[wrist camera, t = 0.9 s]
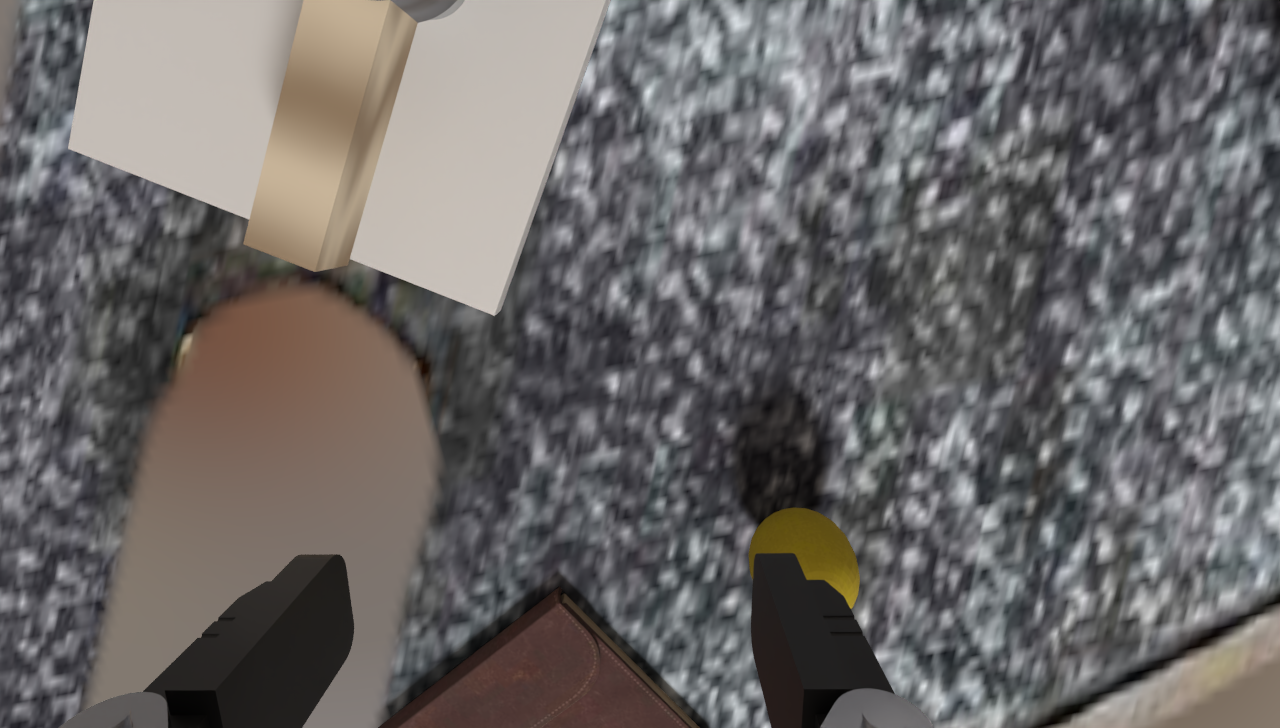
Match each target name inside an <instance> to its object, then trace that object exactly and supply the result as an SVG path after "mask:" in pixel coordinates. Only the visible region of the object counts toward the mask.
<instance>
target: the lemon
mask: <svg viewBox="0 0 1280 728" xmlns="http://www.w3.org/2000/svg"><path fill="white" fill-rule="evenodd" d="M757 553H794V554H795V555H796V557H797V559H798V561H799V563H800V566H801V568H802V570H803V573H804V575H805V577H806V579H807V580H825V581H826V582H828V583H829V584H830V585H831V586H832V587H833V588H835V589H836V590H837V591H838V592H839V593H841V594H842V595H843V596H844V597H845V599H846V601H847V603H848V605H849V607H850V609H852V607H853V605H854V603H855V601H856V598H857V596H858V590H859V581H860V577H859V570H858V565H857V560H856V556H855V553H854V551H853V549H852V547H851V545H850V543H849V541H848V539H847V537H846V536H845V534H844V533H843V532H842V531H841V530H840V529H839V528H838V527H837V526H836V524H835V523H834V522H832V521H831V520H830V519H828V518H827V517H825V516H823V515H822V514H820V513H819V512H816V511H813V510H809V509H806V508H795V507H794V508H787V509H782V510H780V511H777V512H775V513H773V514H771V515H770V516H769V517H767V518H766V519H765V520H764V521H763V522H762V523H761V524H760V525H759V526H758V527H757V529H756V531H755V533H754V535H753V537H752V540H751V545H750V550H749V565H750V573H751V576H752V579H753V568H754V558H755V555H756V554H757Z"/></svg>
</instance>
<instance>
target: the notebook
mask: <svg viewBox="0 0 1280 728" xmlns="http://www.w3.org/2000/svg"><path fill="white" fill-rule="evenodd" d="M562 590H563V589H562V588H561V587H559V588H557V589H556V590H555V591H553V592H552V593H551V594H550V595H548V596H547V597H546V598H544V599H543V600H542V601H541V602H539V603H538V604H537V605H535V606H534V607H533V608H532V609H530V610H529V611H528V612H526V613H525V614H524V615H522V616H521V617H520V618H519V619H517V620H516V621H515V622H513V623H512V624H511V625H510V626H508V627H507V628H506V629H504V630H503V631H502V632H501V633H499V634H498V635H497V636H495V637H494V638H493V639H492V640H490V641H489V642H488V643H486V644H485V645H484V646H483V647H481V648H480V649H479V650H477V651H476V652H475V653H474V654H472V655H471V656H470V657H468V658H467V659H466V660H465V661H463V662H462V663H461V664H459V665H458V666H457V667H456V668H454V669H453V670H452V671H450V672H449V673H448V674H447V675H445V676H444V677H443V678H441V679H440V680H439V681H438V682H436V683H435V684H434V685H432V686H431V687H430V688H429V689H427V690H426V691H425V692H423V693H422V694H421V695H420V696H418V697H417V698H416V699H414V700H413V701H412V702H410V703H409V704H408V705H407V706H405V707H404V708H403V709H401V710H400V711H399V712H398V713H396V714H395V715H394V716H392V717H391V718H390V719H389V720H387V721H386V722H385V723H383V724H382V725H381V726H380V727H378V728H700V727H699V726H698V725H697V724H696V723H695V722H694V721H693V720H692V719H691V718H690V717H689V716H688V715H687V714H686V713H685V712H684V711H683V710H682V709H681V708H680V707H679V706H678V705H677V704H676V703H674V702H673V701H672V700H671V699H670V698H669V697H668V696H667V695H666V694H665V693H664V692H663V691H662V690H661V689H660V688H659V687H658V686H657V685H656V684H655V683H654V682H653V681H652V680H651V679H650V678H649V677H648V676H647V675H646V674H645V673H644V672H643V671H642V670H641V669H640V668H639V667H638V666H637V665H636V664H635V663H634V662H633V661H632V660H631V659H630V658H629V657H628V656H627V655H626V654H625V653H624V652H623V651H622V650H621V649H620V648H619V647H618V646H617V645H616V644H615V643H614V642H613V641H612V640H611V639H610V638H609V637H608V636H607V635H606V634H605V633H604V632H603V631H602V630H601V629H600V628H599V627H598V626H597V625H596V624H595V623H594V622H593V621H592V620H591V619H590V618H589V617H588V616H587V615H586V614H585V613H584V612H583V611H582V610H581V609H580V608H579V607H578V606H577V605H576V604H575V603H574V602H573V601H572V600H571V599H570V598H569V597H568V596H567V595H566V594H565V593H564V594H563V595H561V591H562Z"/></svg>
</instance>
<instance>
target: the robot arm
mask: <svg viewBox="0 0 1280 728" xmlns="http://www.w3.org/2000/svg"><path fill="white" fill-rule="evenodd" d="M353 634H354V621H353V614H352V607H351V600H350V592H349V586H348V578H347V570H346V565H345V561H344V559H343V558H342V556H340V555H298V556H296V557H295V558H294V559H293V560H292V561H291V562H290V563H289V564H288V565H287V566H286V567H285V568H284V569H283V570H282V571H281V572H280V573H279V574H278V575H277V576H276V577H275V578H274V579H273V580H272V581H271V582H265V583H263V584H261V585H260V586H258V587H256V588H255V589H253V590H251V591H250V592H248V593H246V594H245V595H243V596H241V597H240V598H238V599H237V600H236V601H235V602H234V603H233V604H232V605H231V606H230V607H229V608H228V609H227V610H226V611H225V612H224V613H223V614H222V615H221V616H220V617H219V619H218V621H217V622H214V623H212V624H211V626H210V627H208V629H206V630H205V631H204V632H203V634H202V637H201V638H197V639H196V640H195V641H194V642H193V643H192V644H191V645H190V646H189V647H188V648H187V649H186V650H185V651H184V652H183V653H182V654H181V655H180V656H179V657H178V658H177V659H176V660H175V661H174V662H173V663H172V664H171V665H170V666H169V667H168V668H167V669H166V670H165V671H163V672H162V674H160V675H159V676H158V678H156V679H155V680H154V681H153V682H152V683H151V684H150V685H149V686H148V687H147V688H146V689H145V690H144V691H143V692H136V693H129V694H125V695H121V696H117V697H114V698H111V699H108V700H105V701H103V702H101V703H98V704H96V705H94V706H92V707H90V708H88V709H86V710H84V711H82V712H81V713H79V714H77V715H76V716H74V717H73V718H71V719H70V720H68V721H67V722H66V723H64V724H63V725H62V726H60V727H59V728H302V727H303V725H304V724H305V722H306V721H307V719H308V718H309V716H310V714H311V713H312V711H313V710H314V708H315V707H316V705H317V704H318V702H319V701H320V699H321V697H322V696H323V694H324V693H325V691H326V690H327V688H328V687H329V685H330V684H331V682H332V680H333V679H334V677H335V676H336V674H337V673H338V671H339V670H340V668H341V667H342V665H343V663H344V662H345V660H346V658H347V657H348V654H349V652H350V649H351V646H352V641H353ZM751 637H752V648H753V654H754V659H755V663H756V667H757V671H758V675H759V679H760V683H761V687H762V691H763V695H764V699H765V703H766V707H767V711H768V715H769V719H770V723H771V727H772V728H934V727H933V725H932V723H931V722H930V720H929V719H928V718H927V716H926V715H925V714H924V713H923V712H922V711H921V710H920V709H919V708H917V707H916V706H915V705H914V704H912V703H911V702H909V701H907V700H906V699H904V698H902V697H900V696H898V695H896V694H894V692H893V690H892V688H891V686H890V684H889V682H888V680H887V678H886V676H885V674H884V672H883V670H882V669H881V667H880V665H879V663H878V661H877V659H876V657H875V655H874V653H873V651H872V649H871V647H870V645H869V644H868V642H867V640H866V638H865V636H863V634H862V630H861V628H860V626H859V624H858V622H857V620H854V615H853V613H852V611H851V609H850V607H849V605H848V603H847V601H846V599H845V597H844V596H843V595H842V594H841V593H839V592H838V591H837V590H836V589H835V588H833V587H832V586H831V585H830V584H829V583H828V582H826V581H825V580H807V579H806V577H805V575H804V573H803V570H802V568H801V566H800V563H799V561H798V559H797V557H796V555H795V554H794V553H757V554H756V555H755V558H754V568H753V591H752V614H751Z"/></svg>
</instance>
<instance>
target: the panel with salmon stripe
mask: <svg viewBox="0 0 1280 728" xmlns="http://www.w3.org/2000/svg"><path fill="white" fill-rule="evenodd" d="M610 1H611V0H457V1H456V2H455V3H454V4H453V5H452V6H451V7H450V8H449V9H448V10H446V11H445V12H444V13H442V14H440V15H439V16H437V17H435V18H432V19H430V20H427V21H424V22H419V23H418V24H417V27H416V31H415V34H414V38H413V41H412V45H411V48H410V52H409V55H408V59H407V62H406V66H405V69H404V72H403V76H402V79H401V83H400V86H399V90H398V93H397V97H396V100H395V104H394V107H393V110H392V114H391V117H390V121H389V124H388V128H387V131H386V135H385V138H384V142H383V145H382V149H381V152H380V155H379V159H378V162H377V166H376V169H375V173H374V176H373V180H372V183H371V187H370V190H369V193H368V197H367V200H366V204H365V207H364V211H363V214H362V218H361V221H360V225H359V228H358V232H357V235H356V238H355V242H354V245H353V249H352V252H351V256H350V259H351V260H354V261H356V262H359V263H362V264H364V265H367V266H369V267H372V268H374V269H377V270H379V271H382V272H385V273H387V274H390V275H392V276H395V277H397V278H400V279H402V280H405V281H408V282H410V283H413V284H415V285H418V286H420V287H423V288H425V289H428V290H431V291H433V292H436V293H438V294H441V295H443V296H446V297H448V298H451V299H454V300H456V301H459V302H461V303H464V304H466V305H469V306H471V307H474V308H476V309H479V310H482V311H484V312H487V313H489V314H492V315H494V316H495V315H496V314H497V313H498V312H500V311H501V308H502V306H503V303H504V300H505V297H506V294H507V291H508V289H509V286H510V283H511V280H512V277H513V275H514V272H515V269H516V266H517V263H518V260H519V258H520V255H521V252H522V249H523V246H524V244H525V241H526V238H527V235H528V232H529V229H530V227H531V224H532V221H533V218H534V215H535V213H536V210H537V207H538V204H539V201H540V198H541V196H542V193H543V190H544V187H545V184H546V181H547V179H548V176H549V173H550V170H551V167H552V165H553V162H554V159H555V156H556V153H557V150H558V148H559V145H560V142H561V139H562V136H563V134H564V131H565V128H566V125H567V122H568V119H569V117H570V114H571V111H572V108H573V105H574V103H575V100H576V97H577V94H578V91H579V88H580V86H581V83H582V80H583V77H584V74H585V72H586V69H587V66H588V63H589V60H590V57H591V55H592V52H593V49H594V46H595V43H596V41H597V38H598V35H599V32H600V29H601V26H602V24H603V21H604V18H605V15H606V12H607V9H608V7H609V4H610ZM302 4H303V0H94V2H93V8H92V14H91V20H90V25H89V31H88V37H87V43H86V49H85V54H84V60H83V66H82V72H81V77H80V83H79V89H78V95H77V101H76V106H75V112H74V118H73V124H72V129H71V135H70V141H69V147H68V149H70V150H73V151H76V152H78V153H81V154H83V155H86V156H88V157H91V158H93V159H96V160H99V161H101V162H104V163H106V164H109V165H111V166H114V167H116V168H119V169H122V170H124V171H127V172H129V173H132V174H134V175H137V176H139V177H142V178H145V179H147V180H150V181H152V182H155V183H157V184H160V185H162V186H165V187H168V188H170V189H173V190H175V191H178V192H180V193H183V194H185V195H188V196H190V197H193V198H196V199H198V200H201V201H203V202H206V203H208V204H211V205H213V206H216V207H219V208H221V209H224V210H226V211H229V212H231V213H234V214H236V215H239V216H242V217H244V218H247V219H250V215H251V211H252V207H253V203H254V199H255V195H256V191H257V187H258V183H259V179H260V175H261V171H262V167H263V163H264V158H265V154H266V150H267V146H268V142H269V138H270V134H271V130H272V126H273V122H274V118H275V114H276V110H277V106H278V102H279V98H280V94H281V90H282V86H283V81H284V77H285V73H286V69H287V65H288V61H289V57H290V53H291V49H292V45H293V41H294V37H295V33H296V29H297V25H298V21H299V17H300V13H301V9H302Z"/></svg>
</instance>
